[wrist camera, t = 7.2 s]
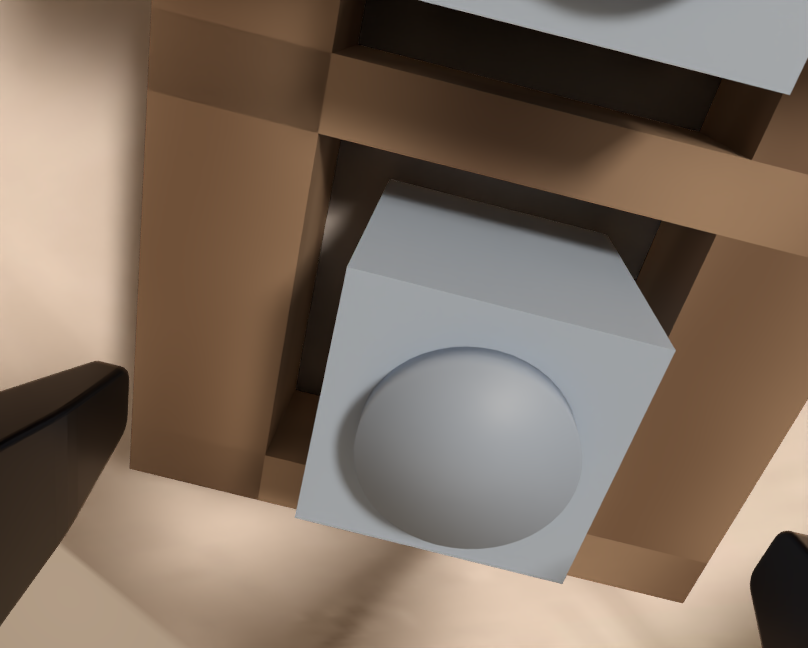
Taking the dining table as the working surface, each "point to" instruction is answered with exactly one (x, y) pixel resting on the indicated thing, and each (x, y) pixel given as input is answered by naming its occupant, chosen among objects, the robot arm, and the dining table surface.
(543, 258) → the domed grey cube
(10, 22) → the dining table surface
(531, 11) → the pale blue studded block
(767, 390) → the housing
